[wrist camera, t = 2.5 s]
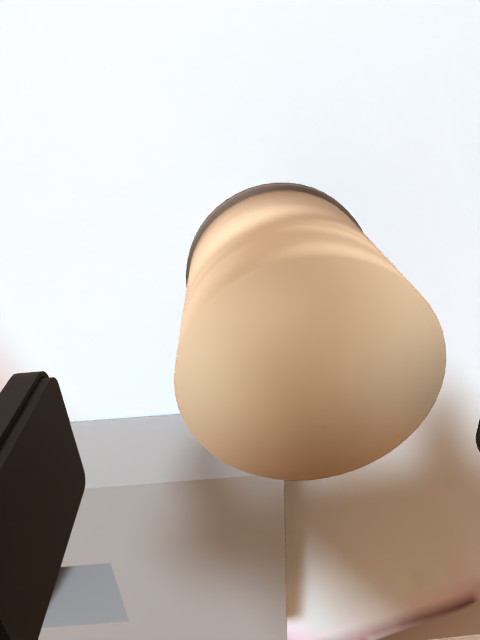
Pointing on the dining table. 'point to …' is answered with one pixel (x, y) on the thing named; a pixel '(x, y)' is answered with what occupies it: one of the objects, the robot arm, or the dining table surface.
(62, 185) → the dining table surface
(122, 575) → the grey block with hole
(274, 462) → the maple peg
